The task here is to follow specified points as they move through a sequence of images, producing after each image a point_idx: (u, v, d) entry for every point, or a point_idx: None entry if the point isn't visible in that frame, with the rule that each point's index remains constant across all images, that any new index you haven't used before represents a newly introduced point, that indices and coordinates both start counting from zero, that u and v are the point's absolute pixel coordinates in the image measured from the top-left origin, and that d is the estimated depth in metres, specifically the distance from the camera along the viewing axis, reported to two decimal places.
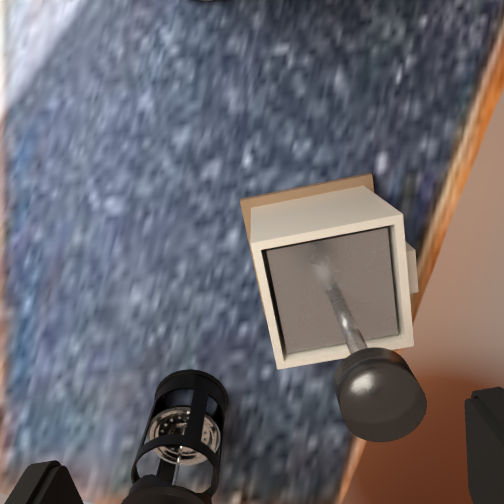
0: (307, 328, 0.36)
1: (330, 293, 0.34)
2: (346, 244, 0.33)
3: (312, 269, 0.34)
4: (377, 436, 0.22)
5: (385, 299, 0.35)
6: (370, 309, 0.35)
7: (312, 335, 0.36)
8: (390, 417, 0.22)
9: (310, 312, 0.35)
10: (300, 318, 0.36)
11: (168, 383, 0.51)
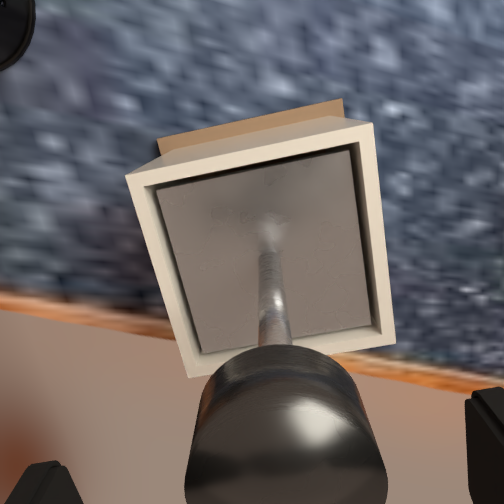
0: (206, 222, 0.21)
1: (276, 256, 0.21)
2: (350, 272, 0.22)
3: (312, 225, 0.21)
4: (202, 486, 0.09)
5: None
6: (243, 313, 0.23)
7: (193, 231, 0.22)
8: None
9: (235, 226, 0.22)
10: (224, 210, 0.21)
11: None
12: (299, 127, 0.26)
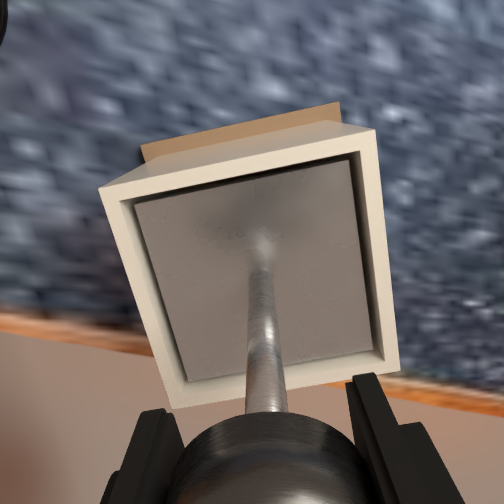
0: (190, 239, 0.19)
1: (268, 277, 0.19)
2: (350, 293, 0.20)
3: (308, 242, 0.19)
4: None
5: None
6: (232, 338, 0.21)
7: (176, 249, 0.20)
8: None
9: (222, 244, 0.19)
10: (210, 226, 0.19)
11: None
12: (293, 133, 0.24)
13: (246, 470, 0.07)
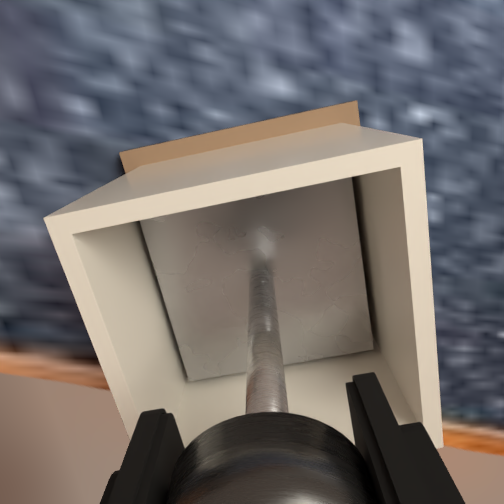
0: (191, 239, 0.19)
1: (268, 277, 0.19)
2: (351, 293, 0.20)
3: (309, 242, 0.19)
4: None
5: None
6: (232, 338, 0.21)
7: (177, 249, 0.20)
8: None
9: (223, 243, 0.19)
10: (211, 226, 0.19)
11: None
12: (304, 140, 0.19)
13: (246, 470, 0.07)
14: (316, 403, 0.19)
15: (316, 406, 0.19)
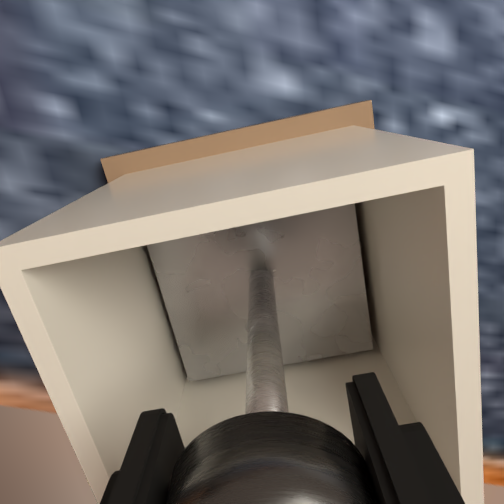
0: (190, 239, 0.19)
1: (268, 277, 0.19)
2: (350, 293, 0.20)
3: (308, 242, 0.19)
4: None
5: None
6: (232, 338, 0.21)
7: (176, 249, 0.20)
8: None
9: (223, 243, 0.19)
10: None
11: None
12: (313, 146, 0.16)
13: (246, 470, 0.07)
14: None
15: None
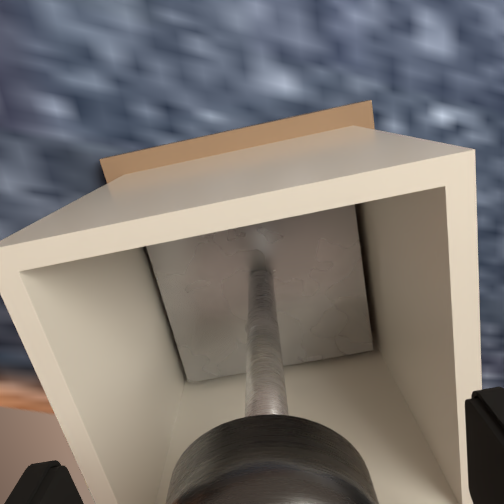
0: (190, 240, 0.19)
1: (268, 278, 0.19)
2: (350, 294, 0.20)
3: (308, 243, 0.19)
4: None
5: None
6: (232, 339, 0.21)
7: (176, 250, 0.19)
8: None
9: (222, 244, 0.19)
10: None
11: None
12: (312, 147, 0.16)
13: (246, 474, 0.07)
14: None
15: None
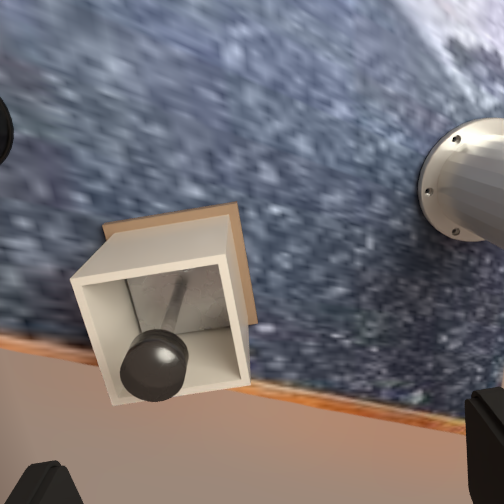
0: None
1: (182, 287, 0.41)
2: (223, 296, 0.42)
3: (202, 272, 0.41)
4: (125, 372, 0.28)
5: (175, 327, 0.43)
6: None
7: None
8: (144, 379, 0.28)
9: None
10: None
11: None
12: (197, 233, 0.38)
13: (147, 339, 0.29)
14: (199, 366, 0.38)
15: (199, 367, 0.37)
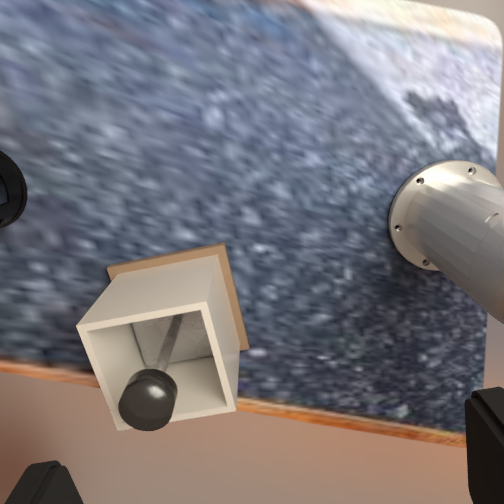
0: None
1: (177, 322, 0.46)
2: None
3: None
4: (122, 407, 0.33)
5: (173, 356, 0.48)
6: None
7: None
8: (139, 413, 0.34)
9: None
10: None
11: (6, 166, 0.44)
12: (187, 277, 0.43)
13: (140, 379, 0.34)
14: (193, 393, 0.43)
15: (192, 395, 0.43)
